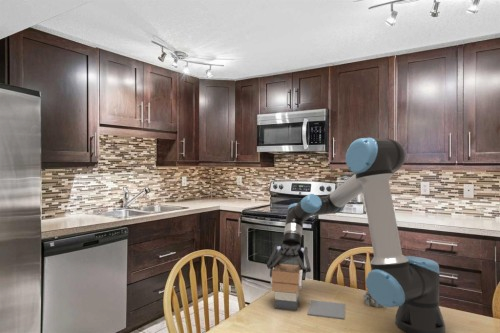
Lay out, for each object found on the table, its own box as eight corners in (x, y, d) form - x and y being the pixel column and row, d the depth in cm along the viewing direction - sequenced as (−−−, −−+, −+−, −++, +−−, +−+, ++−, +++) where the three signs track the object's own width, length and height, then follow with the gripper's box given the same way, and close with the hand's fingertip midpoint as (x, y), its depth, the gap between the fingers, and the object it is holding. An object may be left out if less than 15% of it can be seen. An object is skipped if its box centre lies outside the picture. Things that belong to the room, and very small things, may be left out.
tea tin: (299, 302, 139) (299, 277, 139) (296, 310, 131) (296, 284, 131) (279, 300, 141) (279, 275, 141) (274, 308, 133) (274, 282, 133)
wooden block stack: (302, 284, 139) (302, 265, 139) (298, 293, 130) (298, 273, 130) (277, 281, 142) (277, 263, 142) (272, 290, 132) (272, 270, 132)
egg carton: (381, 309, 133) (381, 299, 132) (361, 305, 137) (361, 294, 137) (388, 300, 141) (388, 290, 141) (369, 296, 146) (369, 286, 146)
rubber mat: (345, 304, 136) (345, 303, 136) (344, 319, 124) (344, 318, 124) (311, 301, 140) (311, 300, 140) (307, 315, 127) (307, 313, 127)
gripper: (320, 242, 147) (316, 293, 132) (267, 239, 154) (259, 287, 139) (319, 232, 142) (315, 284, 127) (265, 229, 148) (255, 278, 133)
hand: (286, 286), depth 133 cm, fingers closed on wooden block stack, 10 cm apart
